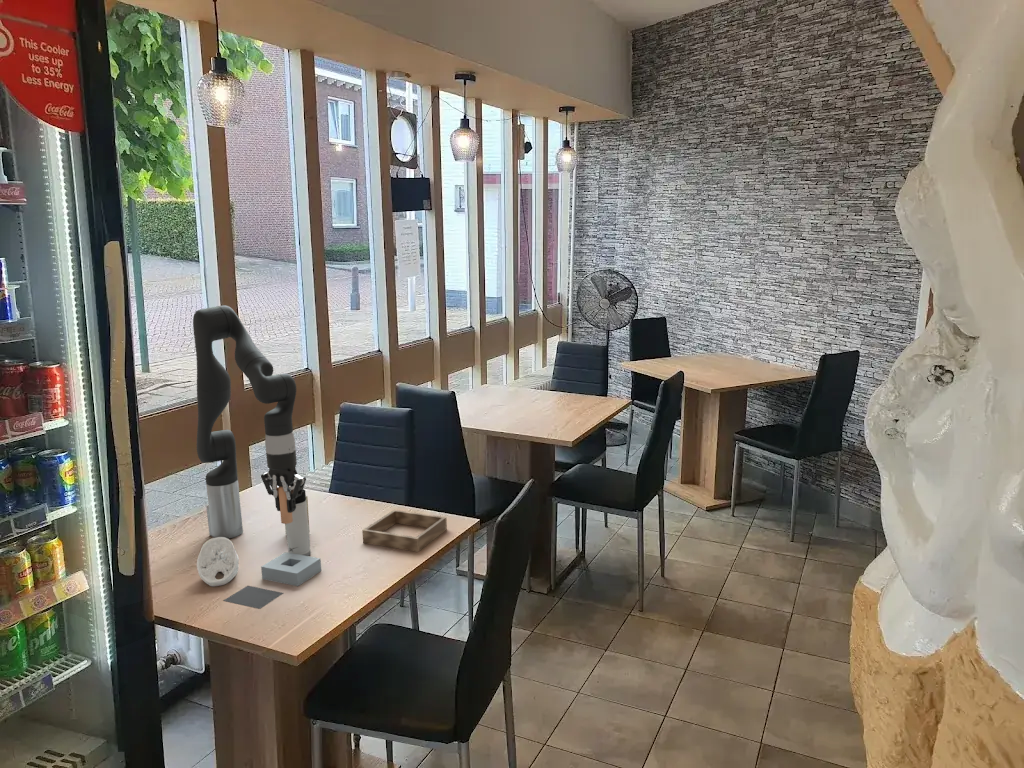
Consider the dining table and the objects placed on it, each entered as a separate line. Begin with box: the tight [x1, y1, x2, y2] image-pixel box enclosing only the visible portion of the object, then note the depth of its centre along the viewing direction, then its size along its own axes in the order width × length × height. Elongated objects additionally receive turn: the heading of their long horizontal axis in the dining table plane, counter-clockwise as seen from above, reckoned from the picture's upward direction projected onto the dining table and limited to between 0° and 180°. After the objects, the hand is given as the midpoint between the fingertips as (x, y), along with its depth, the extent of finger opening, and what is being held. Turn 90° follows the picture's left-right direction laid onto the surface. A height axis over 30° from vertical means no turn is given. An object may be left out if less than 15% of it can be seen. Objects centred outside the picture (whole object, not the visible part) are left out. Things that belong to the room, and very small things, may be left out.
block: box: [260, 551, 322, 587], centre depth 210 cm, size 12×10×4 cm
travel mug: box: [285, 488, 312, 556], centre depth 222 cm, size 6×7×20 cm
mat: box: [222, 585, 284, 610], centre depth 198 cm, size 12×9×1 cm
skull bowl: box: [196, 537, 240, 587], centre depth 210 cm, size 10×14×12 cm
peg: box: [278, 486, 293, 525], centre depth 206 cm, size 3×3×10 cm
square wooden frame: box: [361, 509, 448, 553], centre depth 235 cm, size 19×18×4 cm
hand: (286, 510), depth 206 cm, fingers closed on peg, 3 cm apart
